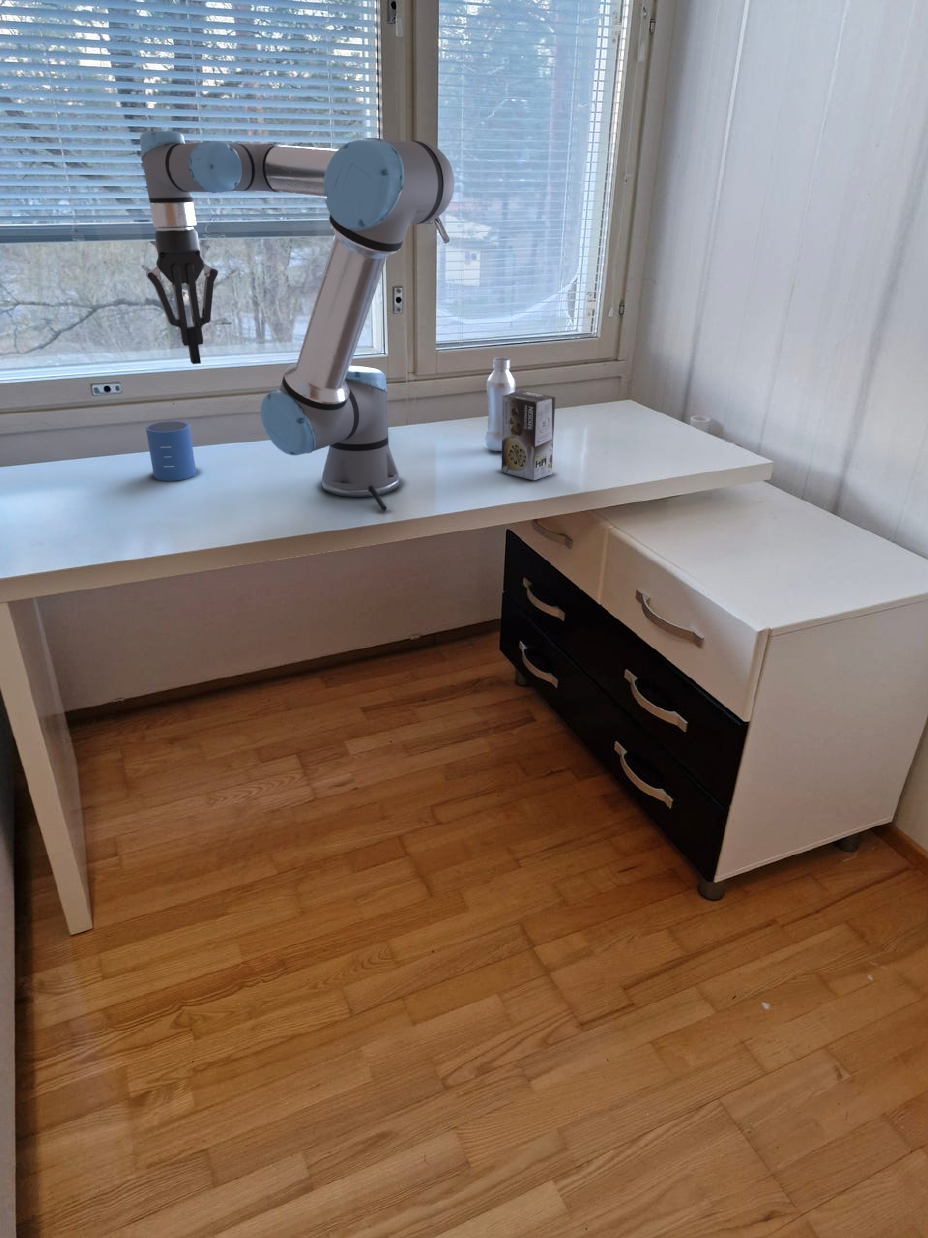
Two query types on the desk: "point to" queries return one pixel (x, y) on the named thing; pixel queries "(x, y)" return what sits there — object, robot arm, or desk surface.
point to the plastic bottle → (497, 400)
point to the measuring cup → (171, 450)
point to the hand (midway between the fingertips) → (195, 362)
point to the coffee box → (527, 434)
